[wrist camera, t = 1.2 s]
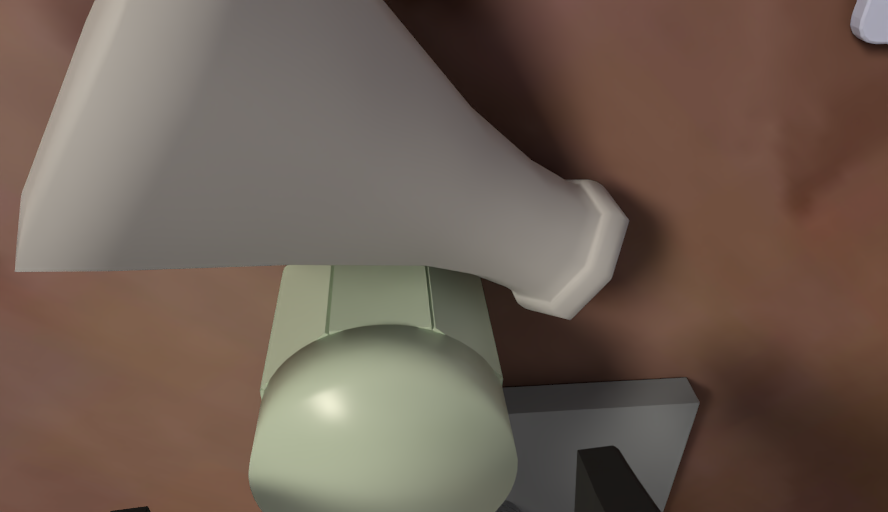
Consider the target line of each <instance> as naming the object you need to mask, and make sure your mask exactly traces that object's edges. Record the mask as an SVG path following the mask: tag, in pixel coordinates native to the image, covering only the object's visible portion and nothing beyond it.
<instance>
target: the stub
mask: <svg viewBox="0 0 888 512" xmlns="http://www.w3.org/2000/svg"><path fill="white" fill-rule="evenodd" d="M495 512H520V510H519V509H518V507H517V506H516V505H514V504H513V503H511V502H509V501H506V500H505V501H504V502H503V503H502V505H501V506H500V507H499V508H498V509H497V510H496V511H495Z"/></svg>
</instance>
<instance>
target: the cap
mask: <svg viewBox="0 0 888 512" xmlns="http://www.w3.org/2000/svg"><path fill="white" fill-rule="evenodd" d="M502 383H503V376H502V372H501V367H500V363H499V358H498V354H497V349H496V345H495V340H494V336H493V331H492V327H491V322H490V318H489V313H488V309H487V305H486V300H485V296H484V291H483V287H482V282H481V278H480V277H479V276H476V275H473V274H470V273H464V272H459V271H453V270H447V269H442V268H436V267H431V266H404V265H287V266H286V267H285V268H284V271H283V274H282V279H281V285H280V290H279V295H278V300H277V305H276V310H275V315H274V321H273V326H272V331H271V336H270V341H269V346H268V351H267V357H266V362H265V367H264V372H263V377H262V382H261V387H260V394H261V399H262V401H261V406H260V411H259V416H258V422H257V427H256V432H255V437H254V443H253V448H252V453H251V459H250V464H249V483H250V488H251V491H252V494H253V497H254V499H255V501H256V502H257V504H258V506H259V508H260V509H261V510H262V511H263V512H495V511H496V510H497V509H498V508H499V507H500V506H501V505H502V503H503V502H504V501H505V499H506V498H507V496H508V495H509V493H510V491H511V489H512V487H513V484H514V482H515V479H516V474H517V466H518V458H517V453H516V447H515V443H514V438H513V434H512V429H511V425H510V420H509V415H508V411H507V406H506V402H505V397H504V393H503V388H502Z"/></svg>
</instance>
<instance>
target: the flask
mask: <svg viewBox="0 0 888 512" xmlns="http://www.w3.org/2000/svg"><path fill="white" fill-rule="evenodd" d="M628 224H629V219H628V218H627V217H626V215H625V214H624V213H623V211H622V210H621V209H620V207H619V206H618V205H617V203H616V202H615V201H614V199H613V198H612V197H611V195H610V194H609V193H608V191H607V190H606V189H605V187H604V186H603V185H601V184H600V183H598V182H597V181H593V180H565V179H563V178H561V177H559V176H558V175H556V174H554V173H553V172H551V171H549V170H547V169H546V168H544V167H542V166H541V165H539V164H537V163H535V162H534V161H532V160H531V159H530V158H528V157H527V156H526V155H525V154H524V153H523V152H522V151H520V150H519V149H518V148H517V147H516V146H515V145H514V144H513V143H511V142H510V141H509V140H508V139H507V138H506V137H505V136H503V135H502V134H501V133H500V132H499V131H498V130H497V129H496V128H494V127H493V126H492V125H491V124H490V123H489V122H488V121H486V120H485V119H484V118H483V117H482V116H481V115H480V114H479V113H477V112H476V111H475V110H474V109H473V108H472V107H471V106H470V105H469V104H468V102H467V101H466V100H465V99H464V98H463V96H462V95H461V94H460V93H459V92H458V90H457V89H456V88H455V87H454V86H453V84H452V83H451V82H450V81H449V79H448V78H447V77H446V76H445V75H444V73H443V72H442V71H441V70H440V69H439V67H438V66H437V65H436V64H435V62H434V61H433V60H432V59H431V58H430V56H429V55H428V54H427V53H426V52H425V50H424V49H423V48H422V47H421V46H420V44H419V43H418V42H417V41H416V39H415V38H414V37H413V36H412V35H411V33H410V32H409V31H408V30H407V29H406V27H405V26H404V25H403V24H402V23H401V21H400V20H399V19H398V18H397V16H396V15H395V14H394V13H393V12H392V10H391V9H390V8H389V7H388V6H387V4H386V3H385V2H384V1H383V0H95V2H94V4H93V6H92V8H91V11H90V13H89V15H88V17H87V20H86V22H85V25H84V27H83V30H82V33H81V35H80V38H79V41H78V44H77V46H76V49H75V52H74V54H73V57H72V60H71V62H70V65H69V68H68V70H67V73H66V76H65V79H64V81H63V84H62V87H61V89H60V92H59V95H58V97H57V100H56V103H55V105H54V108H53V111H52V114H51V116H50V119H49V122H48V124H47V127H46V130H45V132H44V135H43V138H42V140H41V143H40V146H39V149H38V151H37V154H36V157H35V159H34V162H33V165H32V167H31V170H30V173H29V175H28V178H27V181H26V183H25V186H24V189H23V192H22V194H21V204H20V215H19V226H18V236H17V247H16V264H15V272H44V271H125V270H154V269H184V268H213V267H242V266H271V265H404V266H431V267H436V268H442V269H447V270H453V271H459V272H464V273H470V274H473V275H476V276H479V277H481V278H484V279H487V280H489V281H492V282H495V283H497V284H500V285H502V286H505V287H507V288H509V289H510V290H512V292H513V295H514V297H515V299H516V301H517V303H518V304H519V305H521V306H522V307H523V308H525V309H529V310H532V311H536V312H540V313H544V314H548V315H552V316H556V317H560V318H564V319H568V320H571V319H572V318H573V317H574V316H575V315H576V314H577V313H578V312H579V311H580V310H581V309H582V308H583V307H584V306H585V305H586V304H587V303H588V302H589V301H590V300H591V299H592V298H593V297H594V296H595V295H596V294H597V293H598V292H599V291H600V290H601V289H602V288H603V287H604V286H605V285H606V284H607V283H608V282H609V281H610V280H611V279H612V276H613V273H614V269H615V266H616V263H617V260H618V256H619V253H620V250H621V246H622V243H623V240H624V237H625V233H626V230H627V227H628Z"/></svg>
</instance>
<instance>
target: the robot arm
mask: <svg viewBox="0 0 888 512" xmlns="http://www.w3.org/2000/svg"><path fill="white" fill-rule="evenodd" d="M850 26H851V30H852V33H853V34H854V35H855V36H856V37H857V38H859V39H861V40H863V41H865V42H868V43H873V44H888V0H857V2H856V5H855V8H854V11H853V14H852V18H851V23H850ZM110 512H150V510H149V508H148V506H146V507H138V508H131V509H123V510H115V511H110ZM574 512H661V511H660V509H659V508H658V507H657V505H656V504H655V503H654V501H653V500H652V498H651V497H650V495H649V494H648V493H647V491H646V490H645V488H644V487H643V485H642V484H641V483H640V481H639V480H638V478H637V477H636V475H635V474H634V472H633V471H632V469H631V467H630V466H629V464H628V463H627V461H626V460H625V458H624V457H623V455H622V453H621V452H620V450H619V449H618V448H616V447H615V446H613V445H611V446H604V447H596V448H589V449H581V450H577V467H576V487H575V508H574Z"/></svg>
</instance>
